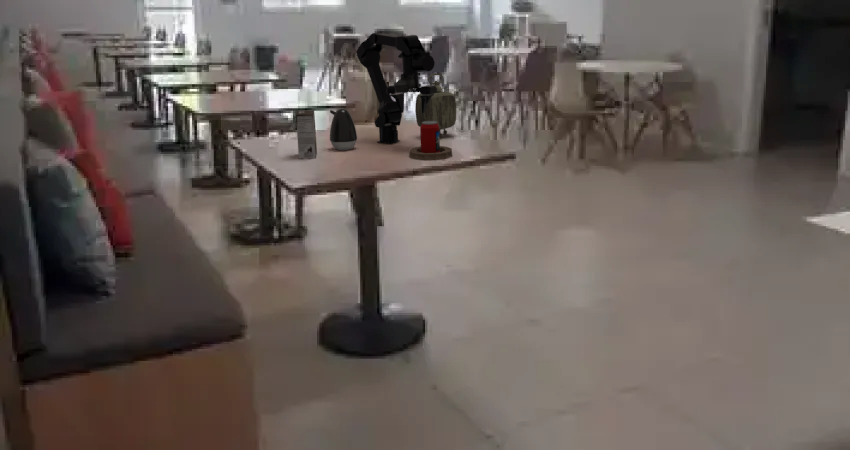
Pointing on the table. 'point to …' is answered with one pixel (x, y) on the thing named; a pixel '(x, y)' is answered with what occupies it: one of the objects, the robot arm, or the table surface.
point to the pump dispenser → (342, 130)
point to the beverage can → (430, 137)
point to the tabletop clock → (438, 108)
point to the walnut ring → (431, 154)
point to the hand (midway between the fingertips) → (412, 113)
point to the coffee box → (306, 134)
